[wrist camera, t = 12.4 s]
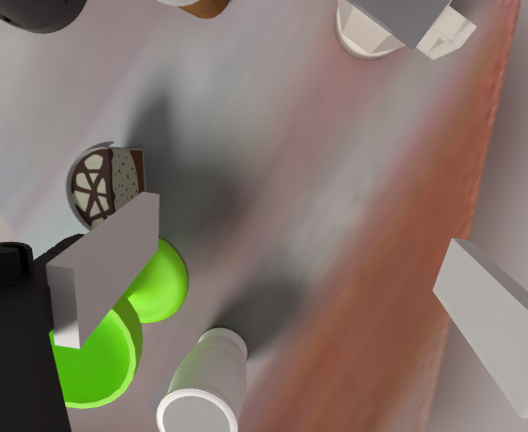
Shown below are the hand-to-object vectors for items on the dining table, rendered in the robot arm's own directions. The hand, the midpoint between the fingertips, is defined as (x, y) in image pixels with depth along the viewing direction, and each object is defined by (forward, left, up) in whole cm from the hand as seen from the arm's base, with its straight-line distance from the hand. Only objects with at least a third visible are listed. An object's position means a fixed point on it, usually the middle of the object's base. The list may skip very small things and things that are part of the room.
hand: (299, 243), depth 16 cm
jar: (+25, -22, -34) cm, 47 cm away
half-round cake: (-6, -25, -34) cm, 43 cm away
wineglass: (+9, -30, -34) cm, 46 cm away
